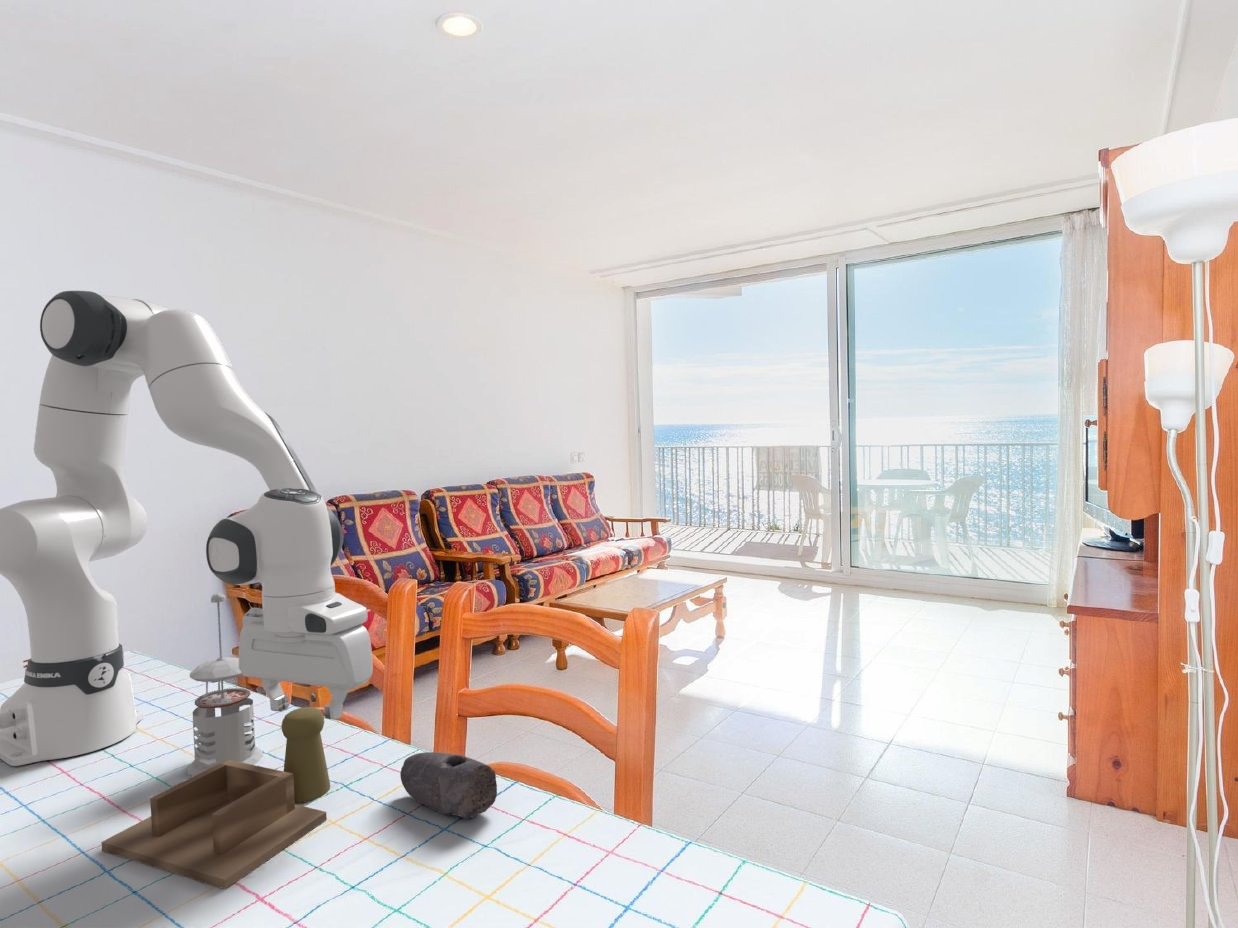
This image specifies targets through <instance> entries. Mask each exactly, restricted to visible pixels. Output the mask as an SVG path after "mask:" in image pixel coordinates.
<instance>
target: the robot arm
mask: <svg viewBox="0 0 1238 928" xmlns="http://www.w3.org/2000/svg"><path fill="white" fill-rule="evenodd" d="M39 330H40V331H39V332H40V337H41V339H42V341H43V344H44V345H45V347H46V349H47V350H48V351H49V353H50V354H51V357H50V358H49V362H48V364H47V367H46V371H45V374H44V378H43V382H42V385H41V386H42V387H41V391H40V397H39V403H38V411H37V420H36V426H35V427H36V428H35V436H34V444H33V453H34V455H35V457H36V459H37V460H38V461H39V462H40V463H41V464H43V465H44V466H45V467H48V469H50V470H51V472H52V475H53V477H54V480H55V484H56V495H55V497H47V498H37V499H36V498H35V499H27V500H23V501H19V502H16V503H13V504H10V505H7V506H4V507H1V508H0V576H2V577H4V578H5V579H6V580H8V582H10V584H11V585H12V586H13V588H14V590H15V591H16V592H17V594H18V596H19V597H20V600H21V602H22V605H23V607H24V610H25V614H26V619H27V626H28V627H27V628H28V637H29V648H30V658H29V659H24V660H23V661H22V663H27V664H26V665H23V667H22V668H23V669H24V668H25V669H24V679H23V682H24V683H23V684H22V685H21V686H20V687H19V688H18V689H17V690H16V691H15V692H14V693H13V694H12V695H11V696H9V697H8V699H6V700H5V701H4V702H3V703H2V704H1V705H0V760H2V761H3V762H5V763H7V765H9V766H10V767H11V766H12V767H18V766H24V765H27V764H32V763H38V762H42V761H48V760H49V761H50V760H59V759H64V758H70V757H76V756H79V755H80V756H81V755H83V754H88V753H91V752H95V751H98V750H101V749H104V748H106V747H109V746H111V745H114V744H117V743H118V742H120V741H123V740H124V739H126V738H128V737H129V736H131V735H132V734H133V733H134V732H135V731H136V729H137V724H138V722H140V721H141V720H142V719H143V718H144V716H143V712H142V711H140V710H137V709H136V704H135V698H134V691H133V685H132V680H131V678H132V677H131V675H130V674H129V673H128V672H127V671H125V670H123V667H124V665H125V664H124V663H125V661H124V658H125V655H124V653H125V652H124V651H123V650H124V649H123V645H122V644H121V643H120V640H119V639H120V637H119V620H118V604H117V600H116V598H115V597H114V595H113V594H112V593H110V592H109V591H107V590H105V589H103V588H100V587H99V586H98V585H97V583H96V581H95V580H94V578H93V576H92V573H91V570H90V565H89V564H90V562H94V561H99V560H102V559H107V558H112V557H114V556H116V555H118V554H121V553H123V552H125V551H127V550H128V549H130V548H132V547H134V546H135V545H137V544H139V543H140V542H141V541H142V539H143V538H145V537H144V536H145V535H146V533H147V530H148V525H149V524H148V515H147V513H146V510H145V508H144V507H143V505H142V504H141V502H139V501H138V500H137V499H136V498H135V497H134V496H133V494H132V493H131V491H130V488H129V485H128V481H127V477H126V472H125V466H124V465H125V464H124V463H125V462H124V455H125V453H124V452H125V446H126V445H125V442H126V434H127V425H128V417H129V415H128V414H129V409H130V398H131V397H130V396H131V389H132V386H133V383H134V382H135V381H136V380H137V379H139V378H140V377H143V376H144V377H145V381H146V384H147V388H148V390H149V394H150V396H151V400H152V402H153V405H154V408H155V410H156V412H157V415H158V416H159V418H160V420H161V421H162V422H163V424H164V425H165V426H166V428H167V429H168V430H169V431H170V432H172V433H173V434H175V436H178V437H180V438H181V439H184V440H186V441H188V442H190V443H193V444H196V445H201V446H205V447H208V448H213V449H217V450H221V451H223V452H227V453H229V454H232V455H235V456H237V457H239V458H241V459H243V460H245V461H247V462H248V463H249V464H250V465H252V466H253V467H254V468H255V469H256V470H257V471H258V472H259V474H260V475H261V477H262V479H263V481H264V483H265V484H266V486H267V487H268V490H267V491H265V492H264V493H262V494H261V495H260V496H259V499H258V500H257V502H256V503H255V504H253V506H251V507H250V508H248V509H246V510H244V511H242V512H239V513H237V514H234V515H232V516H229V517H226V518H223V519H220V520H219V521H218V522H217V523H216V524H215V525H214V527H212V529H211V531H210V532H209V536H208V538H207V540H206V545H205V546H206V547H205V553H206V555H205V556H206V561H207V565H208V568H209V569H210V571H211V573H213V575H214V576H215V577H217V579H219V580H220V581H222V582H223V583H225V584H228V585H230V586H246V585H251V584H252V585H253V584H257V583H260V584H261V585H262V589H261V604H262V608H260V607H251V608H250V609H248V611H247V612H245V614H244V616H242V628H241V630H240V634H239V641H238V642H239V643H238V658H239V669H240V671H241V673H242V674H243V675H242V676H243V677H245V678H251V679H261V687H262V688H263V690H264V692H265V693H266V695H267V697H268V699H269V704H270V710H271V711H272V712H280V713H281V712H283V711H286V710H287V709H289V706H290V702H289V699H290V698H289V695H288V694H285V692H284V690H283V688H282V685H281V683H282V682H285V683H291V684H292V683H294V684H300V685H309V686H316V687H323V688H324V687H325V688H328V694H329V695H330V696H331V699H330V701H329V703H328V704H325V705H324V706H323V709H324V710H323V712H324V719H329V720H333V721H334V720H335V721H336V720H338V719H339V718H341V717H342V716H343V715H344V706H343V705H344V702H345V700H346V697H347V696H348V693H349V691H351V690H354V689H356V688H359V687H361V686H363V685H365V684H366V683H368V682H369V680H370V679H371V678H372V675H373V671H374V670H373V652H372V642H371V638H370V634H369V632H368V631H369V630H367V628H366V627H365V626H364V625H363V624H364V623H365V622H367V621H368V615H369V614H368V609H367V608H366V607H365V606H364V605H362V604H360V603H358V602H356V601H353V600H351V599H349V598H348V597H346V596H344V595H342V594H341V593H340V592H339V593H338V592H336V585H335V579H334V577H333V574H332V570H331V569H332V568H331V566H332V565H334V563H335V561H336V560H337V559H338V557H339V555H340V552H341V551H342V549H343V548H342V547H343V544H344V531H343V527H342V525H341V522H340V521H339V519H338V517H337V516H336V514H335V513H334V512H333V510H331V508H330V507H329V506H328V505H327V504H326V502H325V499H324V497H323V496H322V495H321V494H319V492H318V491H317V489H316V487H315V485H314V483H313V482H312V479H311V477H309V475H308V473H307V471H306V470H305V468H304V466H303V464H302V462H301V461H300V459H299V456H298V455H297V453H296V452H295V449H294V448H293V447H292V445H291V443H290V441H289V439H288V438H287V436H286V434H285V432H284V431H283V429H282V428H281V427H280V425H279V424H278V423H277V421H276V420H275V419H274V418H273V417H272V416H271V415H269V414H268V413H267V412H266V411H264V410H263V409H261V407H259V405H257V404H256V403H255V401H254V400H253V399H252V398H251V397H250V396H249V394H248V392H246V390H245V389H244V387H243V386H242V383H241V382H240V381H239V379H238V377H237V373H236V371H235V369H234V366H233V364H232V361H231V360H230V359H231V358H230V357H229V356H228V353H227V351H226V350H225V347H224V345H223V344H222V341H221V340H220V339H219V337H218V335H217V333H216V331H215V330H214V329H213V327H212V325H211V324H210V323H209V322H208V321H207V319H205V318H204V316H202V315H200V314H198V313H196V312H194V311H191V310H187V309H181V308H180V309H179V308H174V309H172V308H168V307H167V306H166V307H165V306H164V305H159V304H157V303H154V302H150V301H145V300H142V299H139V298H137V299H136V298H132V299H131V298H128V297H127V298H126V297H121V296H120V297H119V296H116V295H115V296H114V295H106V294H99V293H96V292H94V291H89V290H65V291H64V290H63V291H61V292H58V293H56V294H55V295H54V296H53V297H52V298H51V299H49V301H47V303H46V304H45V306H44V308H43V310H42V312H41V316H40V322H39Z"/></svg>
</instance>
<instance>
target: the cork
mask: <svg viewBox="0 0 1238 928" xmlns="http://www.w3.org/2000/svg"><path fill="white" fill-rule="evenodd" d="M324 725H325V715H324V713H323V711H321V709H319V708H317V707H315V706H306V707H305V706H303V707H299V708H296V709H295V708H294V709H293V710H291V711H289V712H287V714H285V715H284V717H283V719H282V722H281V726H280V727H281V731H282V734H283V736H284V737H285V739H286V741H285V742H286V743H285V753H284V763H283V764H284V765H283V771H284V772H288V773H293V777H294V800H295V804H299V803H300V804H301V803H308V802H311V801H315V800H316V799H319V798H322V797H323V796H324V795H326V794H327V793H328V792H329V791H330V788H331V782H330V776H329V771H328V766H327V761H326V755H325V749H324V745H323V741H322V740H323V739H322V735H321V733H322V730H323V729H324Z"/></svg>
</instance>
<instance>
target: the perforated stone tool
mask: <svg viewBox="0 0 1238 928" xmlns="http://www.w3.org/2000/svg"><path fill="white" fill-rule="evenodd" d="M399 777H400V781H401V784H402V786H403V788H404V789H405V791H406V793H407V794H408V795H409V796H410V797H411V798H412V799H413V800H414V801H416V802H417V803H420V804H421V805H424V806H425V805H426V807H428V809H429V808H430V809H432V810H434V811H436V812H437V813H439V814H443V815H445V816H453V815H454V816H459V817H461V819H464V820H468V819H472V818H473V817H476V815H481V814H483V813H486V812H487V810H488V809H491V806H493V804H494V803H495V802H496V798H497V795H498V785H497V778H496V771H495V770H494V769H493V768H492V767H491V766H489V765H488V764H485V763H483V762H481V761H478V760H476V759H473V758H470V757H468V756H465V755H460V754H453V753H447V752H437V751H435V752H433V751H430V752H427V751H426V752H418V753H414V754H412V755H410V756H408V757H407V758H406V759H404V761H403V765H402V766H401V770H400V775H399Z"/></svg>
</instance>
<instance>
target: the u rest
mask: <svg viewBox="0 0 1238 928" xmlns="http://www.w3.org/2000/svg"><path fill="white" fill-rule="evenodd" d="M149 800H150V802H149V803H150V816H149V817H147V818H145V819H143V820H141V821H139V822H137V823H135V824H133V825H131V826H130V827H128V828H126V829H123V830H122V831H120V832H118V833H116V834H114V835H112V836H110V837H108V838H107V839H105V840H103V841H101V842H100V843H101V845H100V846H101V851H103V852H105V853H107V854H112V855H115V856H119V857H122V858H124V859H128V860H131V861H134V862H138V863H141V864H144V865H147V866H151V867H153V868H157V869H159V870H163V871H167V872H169V873H173V874H175V875H178V876H183V877H186V878H188V879H192V880H195V881H198V882H201V883H205V884H208V885H211V886H215V887H217V888H221V889H224V890H227V889H228V888H229V887H231V886H232V885H234V884H235V883H237V882H238V881H240V880H241V879H242V878H244V877H246V876H247V875H248V874H250V873H252V872H253V871H254V870H255V869H257V868H258V867H259V868H260V866H262V865H263V864H264V863H266V862H267V861H269V860H270V859H271V858H273V857H274V856H276V855H277V854H279V853H280V852H282V851H283V850H285V849H286V848H288V847H289V846H291V845H292V844H294V843H296V842H297V841H298V840H299V839H301V838H302V837H303V836H305V835H307V834H308V833H309V832H311V831H313V830H314V829H316V828H317V827H318V826H320V825H321V824H323V823H325V821H327V811H324V810H321V809H315V808H311V807H307V806H303V805H299V804H296V803H295V800H294V777H293V773H288V772H284V770H283V771H282V770H279V769H275V768H273V769H272V768H269V767H264V766H260V765H255V764H254V765H251V764H246V763H242V762H237V761H233V760H226V761H224V762H221V763H219V764H217V765H215V766H213V767H211V768H209V769H207V770H205V771H203V772H201V773H199V774H197V775H195V776H191V777H190V778H187V779H186V780H183V781H182V782H179V783H178V784H175V785H174V786H171V787H169V788H167V789H165V790H163V791H161V792H159V793H157V794H155V795H153V796H151V797H149Z"/></svg>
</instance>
